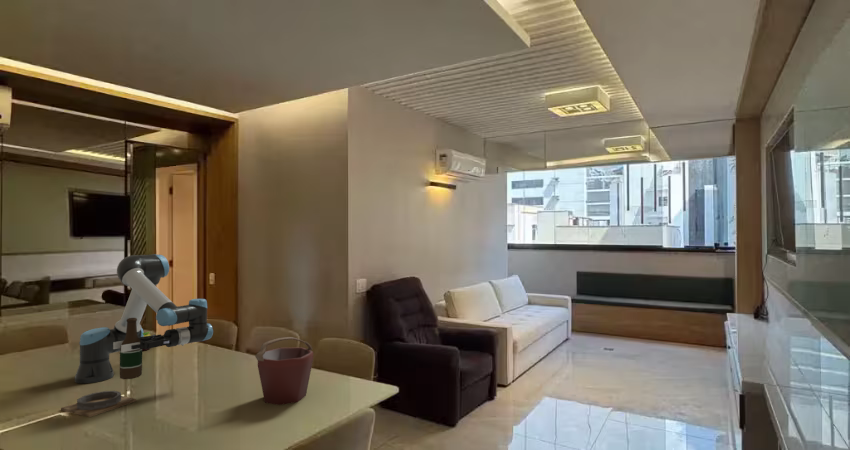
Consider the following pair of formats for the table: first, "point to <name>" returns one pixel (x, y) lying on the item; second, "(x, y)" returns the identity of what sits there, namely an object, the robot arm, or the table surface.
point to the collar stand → (98, 403)
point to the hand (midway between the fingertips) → (117, 347)
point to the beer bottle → (131, 353)
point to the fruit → (146, 335)
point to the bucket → (284, 372)
